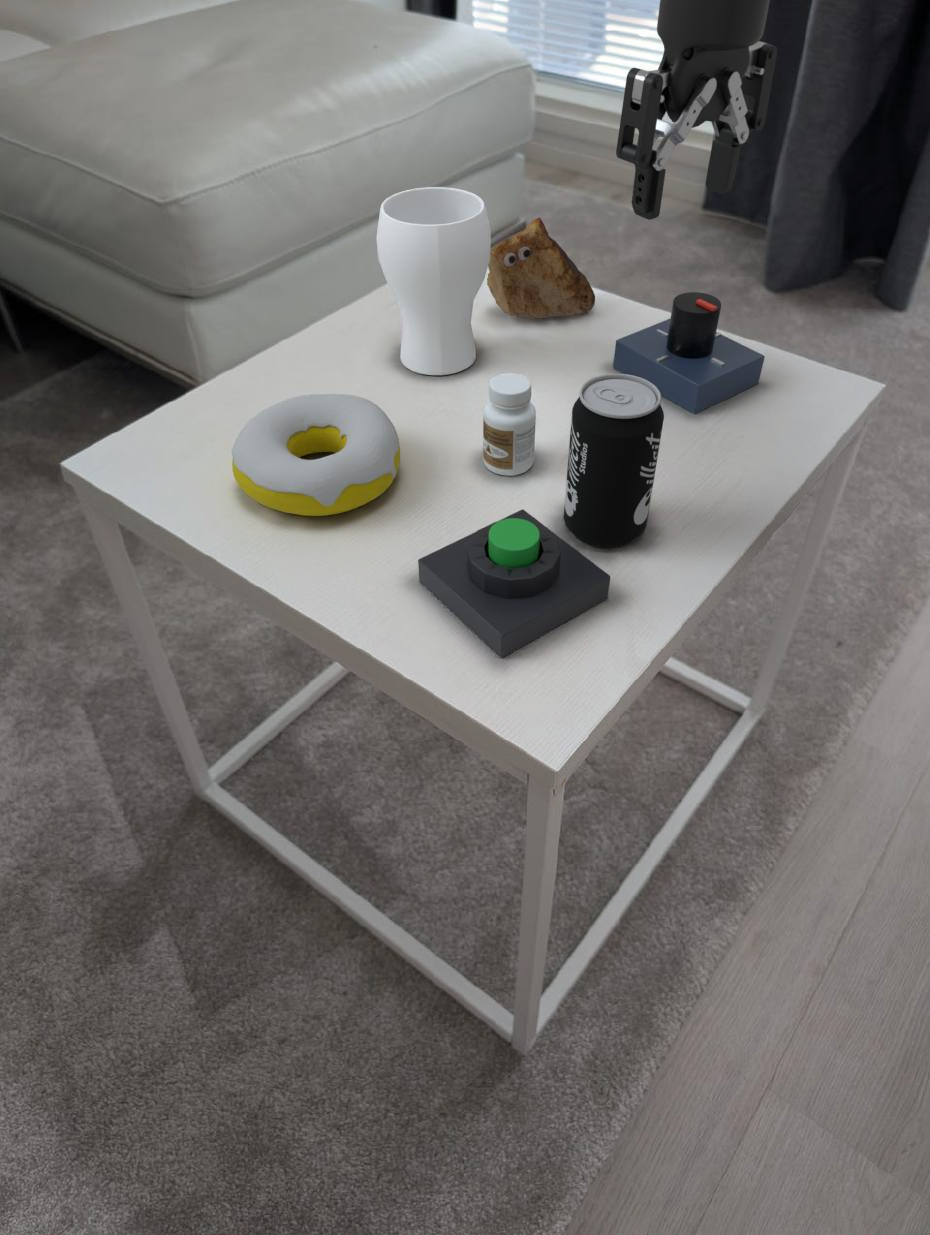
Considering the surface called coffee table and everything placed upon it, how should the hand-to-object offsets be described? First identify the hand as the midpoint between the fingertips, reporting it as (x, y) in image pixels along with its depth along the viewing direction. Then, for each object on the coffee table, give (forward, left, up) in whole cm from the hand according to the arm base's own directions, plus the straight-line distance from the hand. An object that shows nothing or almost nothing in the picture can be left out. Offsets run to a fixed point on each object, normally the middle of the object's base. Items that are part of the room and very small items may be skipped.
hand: (682, 203), depth 73 cm
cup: (+11, -19, -18) cm, 29 cm away
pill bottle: (+17, 0, -18) cm, 25 cm away
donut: (+31, -8, -18) cm, 37 cm away
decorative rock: (-3, -20, -18) cm, 28 cm away
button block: (+27, +13, -18) cm, 35 cm away
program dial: (-6, -1, -15) cm, 16 cm away
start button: (+27, +13, -14) cm, 33 cm away
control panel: (-6, -1, -18) cm, 19 cm away
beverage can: (+17, +11, -18) cm, 27 cm away
